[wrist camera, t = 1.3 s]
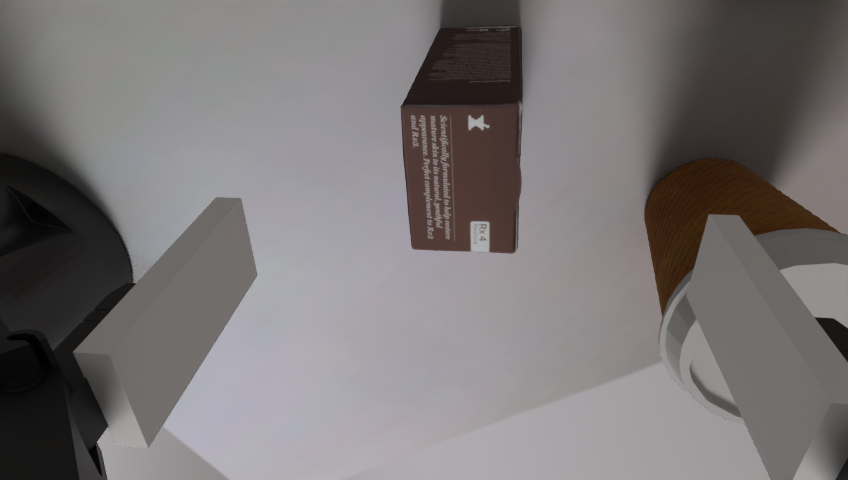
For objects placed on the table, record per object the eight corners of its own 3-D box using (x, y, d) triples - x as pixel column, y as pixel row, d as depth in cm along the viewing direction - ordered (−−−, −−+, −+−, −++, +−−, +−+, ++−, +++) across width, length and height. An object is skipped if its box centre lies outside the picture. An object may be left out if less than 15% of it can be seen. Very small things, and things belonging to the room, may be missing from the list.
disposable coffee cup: (695, 96, 29) (801, 206, 19) (834, 184, 31) (999, 329, 21) (581, 231, 34) (617, 375, 24) (706, 301, 36) (789, 464, 25)
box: (432, 27, 29) (396, 101, 19) (522, 24, 28) (535, 99, 18) (437, 139, 32) (408, 255, 22) (518, 138, 31) (527, 257, 21)
